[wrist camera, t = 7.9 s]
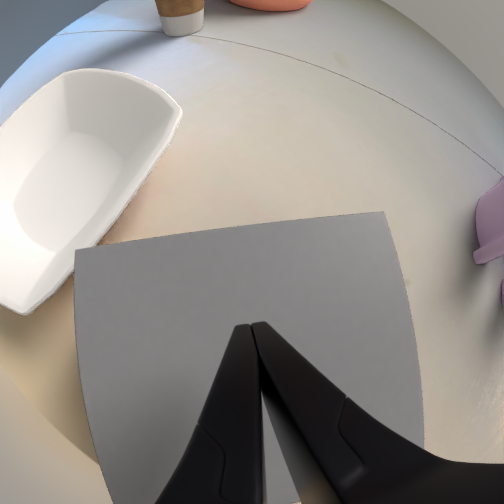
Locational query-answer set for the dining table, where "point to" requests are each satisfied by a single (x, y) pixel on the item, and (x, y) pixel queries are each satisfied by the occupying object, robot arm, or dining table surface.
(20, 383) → the dining table surface
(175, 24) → the coffee cup
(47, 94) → the bowl
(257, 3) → the teapot
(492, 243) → the clip
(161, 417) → the box lid
